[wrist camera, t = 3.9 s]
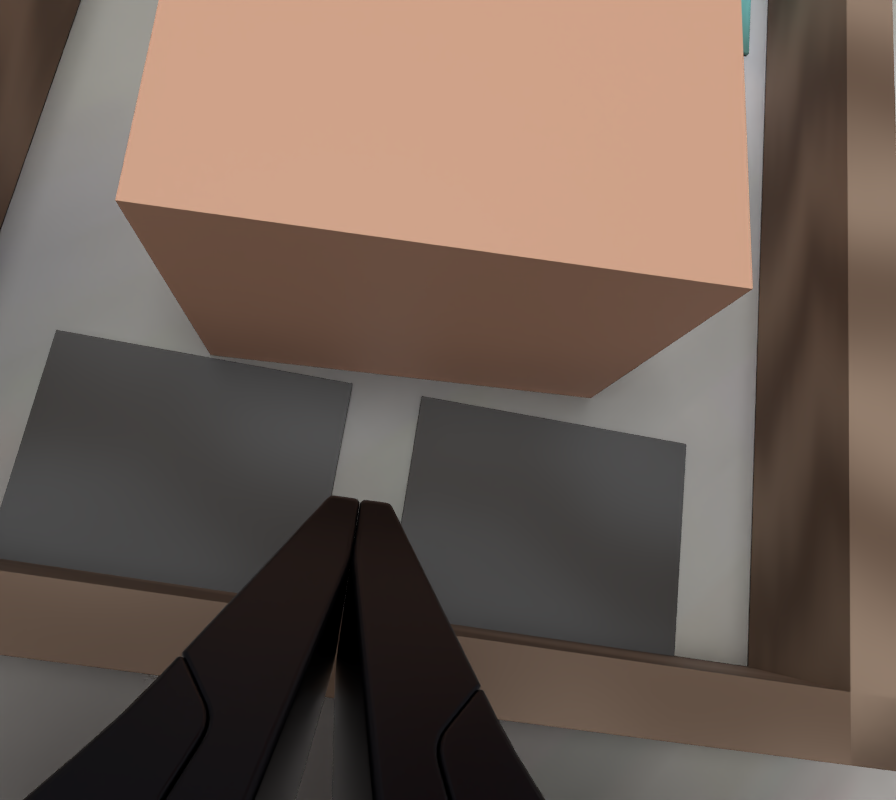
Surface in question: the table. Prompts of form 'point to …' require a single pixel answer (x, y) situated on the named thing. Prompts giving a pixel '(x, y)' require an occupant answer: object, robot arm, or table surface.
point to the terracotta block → (445, 182)
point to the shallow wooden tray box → (519, 465)
